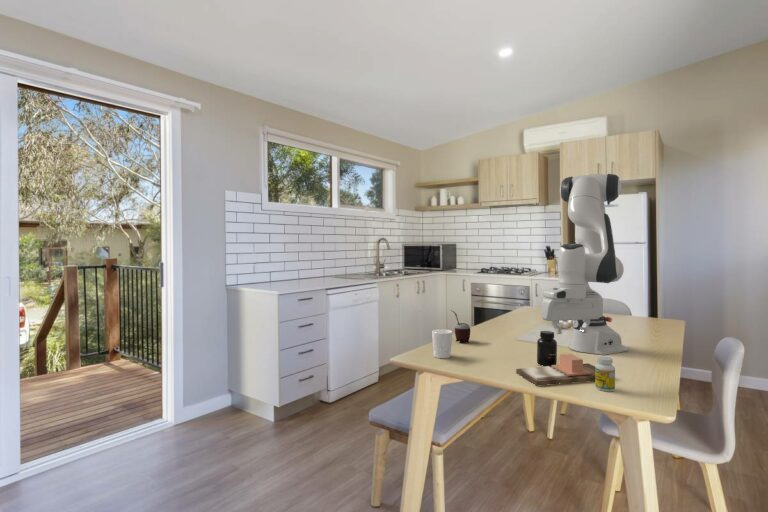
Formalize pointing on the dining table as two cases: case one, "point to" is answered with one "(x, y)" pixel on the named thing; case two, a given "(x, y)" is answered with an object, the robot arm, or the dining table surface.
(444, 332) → the white cup
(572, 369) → the stub
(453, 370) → the dining table surface
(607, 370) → the supplement bottle
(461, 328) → the mate gourd
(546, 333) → the supplement bottle
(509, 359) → the dining table surface
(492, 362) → the dining table surface
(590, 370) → the ticket board
